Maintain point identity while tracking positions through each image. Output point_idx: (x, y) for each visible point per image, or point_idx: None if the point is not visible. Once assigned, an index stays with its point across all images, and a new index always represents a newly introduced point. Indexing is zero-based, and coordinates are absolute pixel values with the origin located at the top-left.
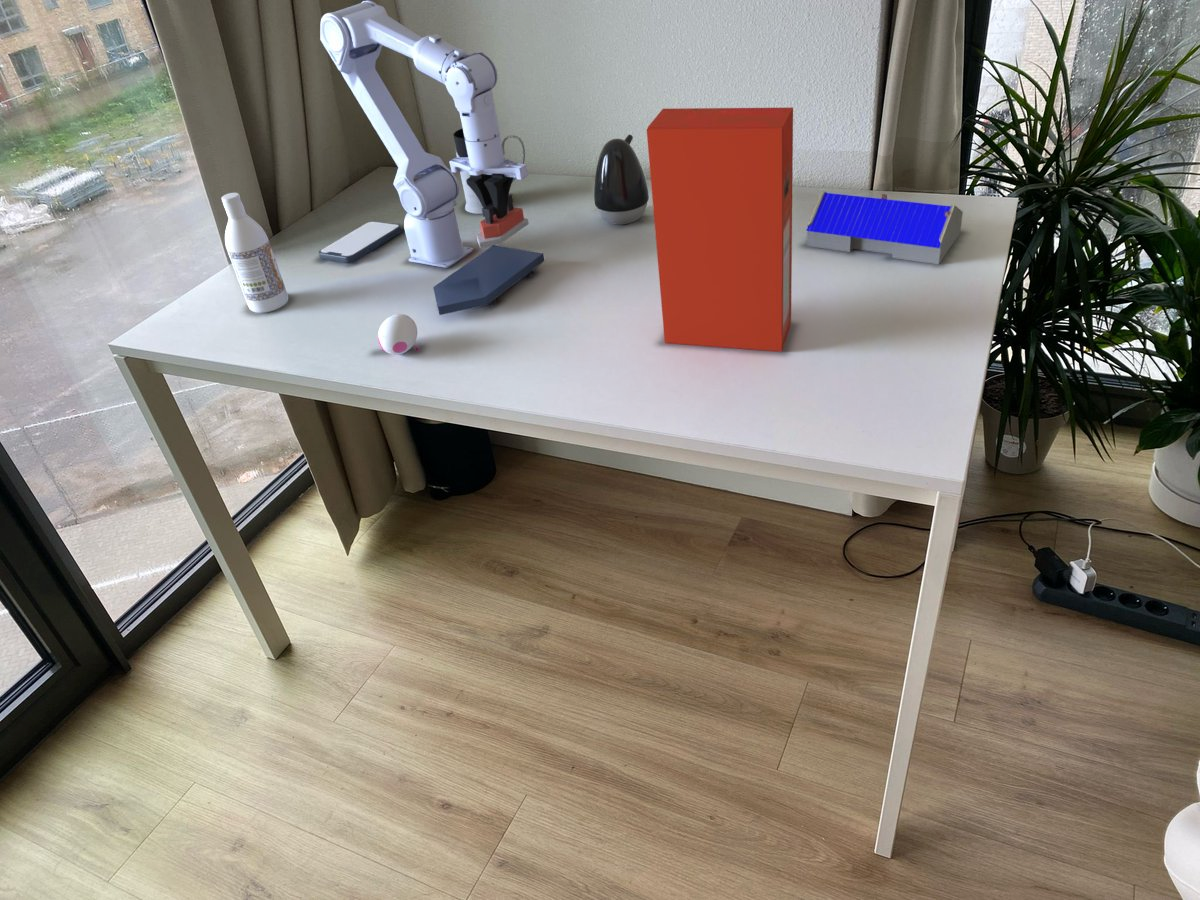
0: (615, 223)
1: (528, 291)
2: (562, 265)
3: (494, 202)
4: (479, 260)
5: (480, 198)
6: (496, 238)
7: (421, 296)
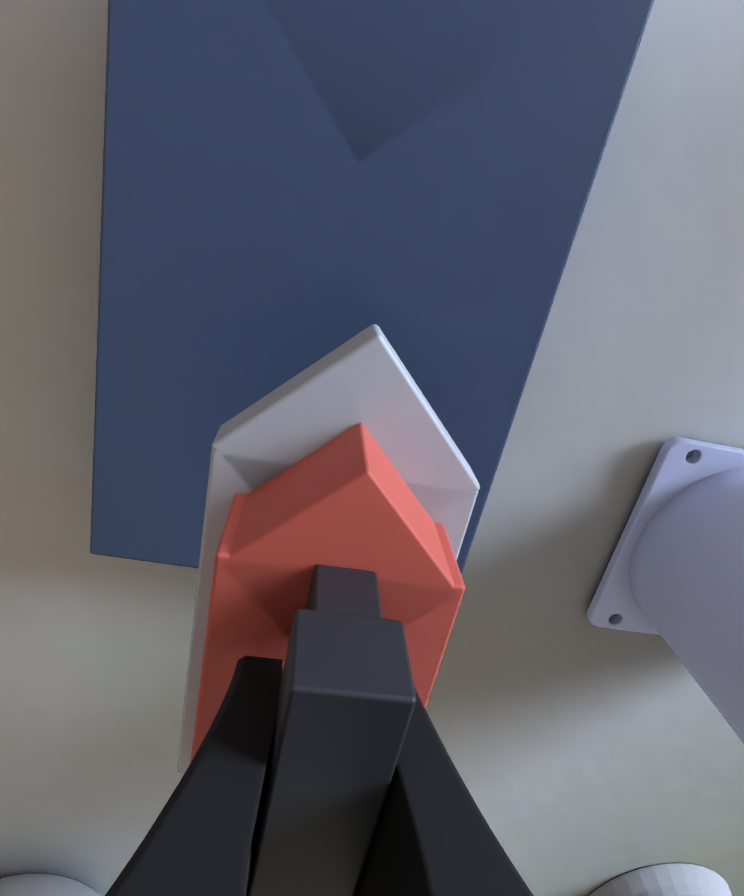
0: (35, 874)
1: (67, 237)
2: (58, 546)
3: (219, 832)
4: (458, 418)
5: (483, 886)
6: (246, 443)
7: (740, 79)
